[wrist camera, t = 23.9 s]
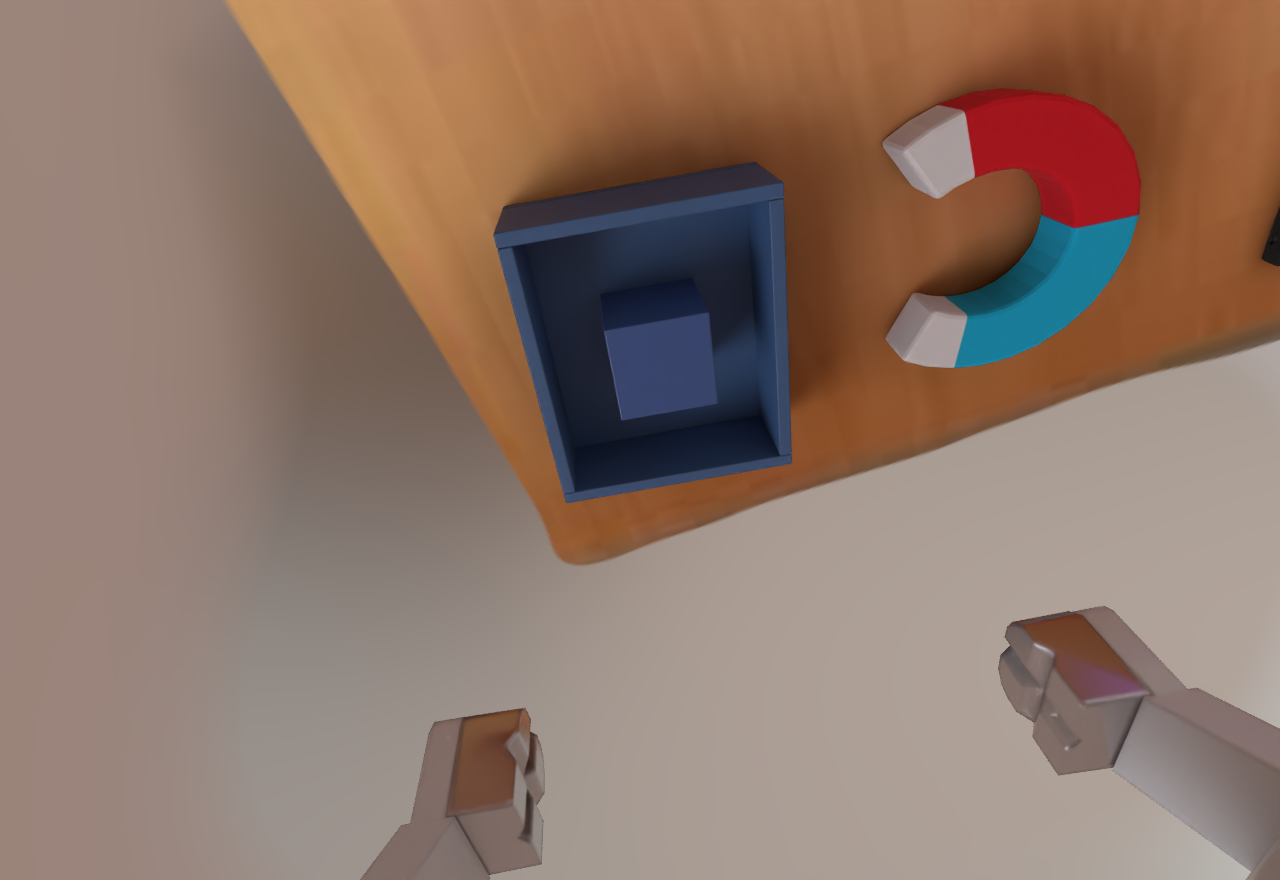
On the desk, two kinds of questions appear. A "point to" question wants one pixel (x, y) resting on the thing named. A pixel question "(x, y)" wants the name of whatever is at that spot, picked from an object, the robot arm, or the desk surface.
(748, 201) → the blue bin
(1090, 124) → the magnet
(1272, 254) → the handheld gaming console
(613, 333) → the blue block
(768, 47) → the desk surface
